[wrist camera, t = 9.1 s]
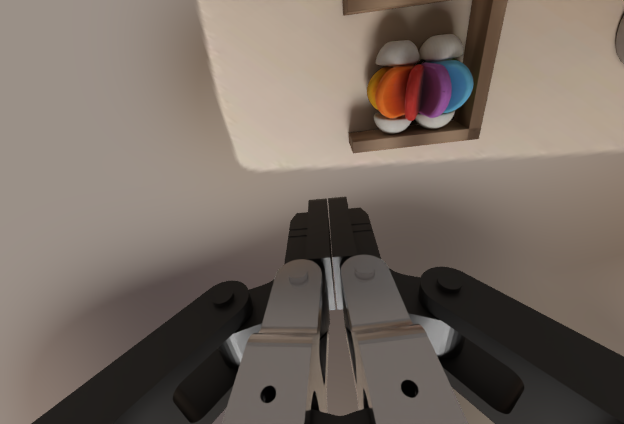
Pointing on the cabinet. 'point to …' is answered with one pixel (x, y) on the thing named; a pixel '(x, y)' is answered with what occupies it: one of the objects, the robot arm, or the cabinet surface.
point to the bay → (476, 57)
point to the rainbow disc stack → (419, 83)
